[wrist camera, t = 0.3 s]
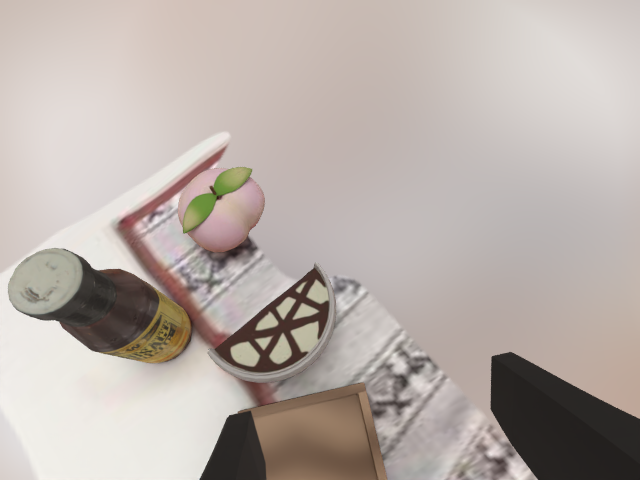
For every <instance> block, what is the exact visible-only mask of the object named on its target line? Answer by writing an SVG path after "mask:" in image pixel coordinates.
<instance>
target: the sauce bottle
mask: <svg viewBox="0 0 640 480" xmlns="http://www.w3.org/2000/svg"><path fill="white" fill-rule="evenodd" d="M8 294H9V300H10V301H11V303H12V304H13V306H14V307H15V308H16V310H18V311H20V312H22V313H24V314H26V315H29V316H30V317H34V318H37V319H40V320H56V321H60V324H61V326H62V328H63V329H65V330H66V331H67V332H69V333H70V334H71V335H72V336H74V337H75V338H76V339H77V340H79V341H80V342H81V343H83V344H84V345H85V346H86V347H88V348H89V349H90V350H92V351H95V352H99V353H103V354H109V355H112V356H118V357H122V358H127V359H132V360H137V361H142V362H146V363H160V362H164V361H169V360H171V359H173V358H176V357H177V356H178V355H179V354H180V353H181V352H182V351H183V350H184V349H185V348H186V346H187V344H188V343H189V341H190V337H191V331H192V330H191V321H190V318H189V317H188V315H187V313H186V312H185V311H184V309H183V308H182V307H180V306H179V305H177V304H176V303H175V302H173V301H172V300H170V299H169V298H168V297H166V296H165V295H164V294H162V293H161V292H159V291H158V290H157V289H155V288H154V287H153V286H151V285H150V284H148V283H147V282H145V281H143V280H142V279H140V278H138V277H137V276H135V275H134V274H132V273H129V272H127V271H124V270H121V269H106V270H100V271H99V270H95V269H93V268H91V266H90V264H89V263H88V262H87V261H86V260H84V259H83V258H82V257H80V256H78V255H77V254H74V253H73V252H70V251H68V250H66V249H58V248H52V249H45V250H42V251H39V252H37V253H35V254H34V255H32V256H30V257H28V258H26V259H25V260H24V261H23V262H21V263H20V264H19V265H18V267H17V268H16V269H15V271H14V274H13V275H12V277H11V279H10V281H9V284H8Z"/></svg>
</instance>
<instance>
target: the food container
mask: <svg viewBox="0 0 640 480" xmlns="http://www.w3.org/2000/svg"><path fill="white" fill-rule="evenodd" d="M335 318H336V301H335V295H334V291H333V288H332V285H331V282H330V280H329V279H328V277H327V275H326V274H325V272H324V270H323V269H322V268H321V266H320V265H319V264H318V263H316V262H315V264H314V268H313V269H312V270H311V271H310V272H308V273H307V274H306V275H305V276H304V277H303V278H302V279H301V280H299V281H298V282H297V283H296V284H294V285H293V286H292V287H291V288H289V289H288V290H287V291H286V292H284V293H283V294H282V295H280V296H279V297H278V298H276V299H275V300H274V301H273V302H271V303H270V304H269V305H267V306H266V307H265V308H264V309H263V310H261V311H260V312H259V313H258V314H257V315H256V316H255V317H253V318H252V319H251V320H250V321H249V322H247V323H246V324H245V325H244V326H243V327H241V328H240V329H239V330H238V331H236V332H235V333H234V334H233V335H232V336H230V337H229V338H228V339H227V340H225V341H224V342H223V343H222V344H221V345H219V346H218V347H217V348H216V349H208V350H209V351H208V354H209V356H210V357H211V359H212V360H213V361H214V362H215V363H216V364H217V365H218V366H219V367H221V368H222V369H223V370H224V371H226V372H228V373H229V374H231V375H233V376H235V377H237V378H240V379H243V380H246V381H251V382H257V383H266V382H275V381H281V380H284V379H287V378H290V377H292V376H294V375H296V374H298V373H300V372H302V371H303V370H305V369H306V368H307V367H308V366H310V365H311V364H312V363H313V362H314V361H315V360H316V359H317V358H318V357H319V356H320V355H321V353H322V352H323V350H324V349H325V347H326V346H327V344H328V342H329V340H330V337H331V335H332V332H333V329H334V325H335Z"/></svg>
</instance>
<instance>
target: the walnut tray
mask: <svg viewBox="0 0 640 480" xmlns="http://www.w3.org/2000/svg"><path fill="white" fill-rule="evenodd" d="M247 411H251V413H252V416H253V420H254V423H255V427H256V430H257V434H258V437H259V441H260V444H261V448H262V452H263V455H264V459H265V462H266V480H387V476H386V472H385V468H384V464H383V459H382V455H381V451H380V447H379V443H378V439H377V434H376V430H375V426H374V422H373V418H372V414H371V409H370V405H369V401H368V397H367V393H366V388H365V384H364V383H358V384H354V385H349V386H345V387H341V388H336V389H332V390H328V391H323V392H319V393H315V394H311V395H306V396H302V397H298V398H293V399H289V400H285V401H280V402H276V403H272V404H267V405H263V406H259V407H254V408H250V409H246V410H241V411H239V412H238V413H242V412H247Z"/></svg>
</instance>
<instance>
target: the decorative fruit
mask: <svg viewBox="0 0 640 480" xmlns="http://www.w3.org/2000/svg"><path fill="white" fill-rule="evenodd" d="M251 172H252V169H250V168H246V167H237V168H232V169H225V168H214V169H210V170H207V171H204V172H202V173H200V174H199V175H197V176H196V177H195V178H194V179H193V180H192V181H191V182H190V183H189V184H188V186H187V187H186V188H185V190H184V191H183V193H182V194H181V197H180V200H179V205H178V216H179V220H180V222H181V225H182V227H183V233H188V235H189V236H190V237H191V238H192V239H193V240H194V241H195V242H196V243H197V244H198V245H199V246H201V247H202V248H204V249H206V250H208V251H212V252H224V251H228V250H231V249H233V248H235V247H237V246H238V245H239V244H241V243H242V242H243V241H245V239H246V238H247V236H248V234H249V231H250V230H251V229H252V228H253V227H254V226H256V224H257V223H258V221H259V219H260V217H261V215H262V212H263V209H264V203H265V200H264V199H265V198H264V194H263V192H262V190H261V188H260V187H259V185H258V184H257V183H256V182H255V181H254V180H253V179H252V178H250V177H249V176H250V175H251Z"/></svg>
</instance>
